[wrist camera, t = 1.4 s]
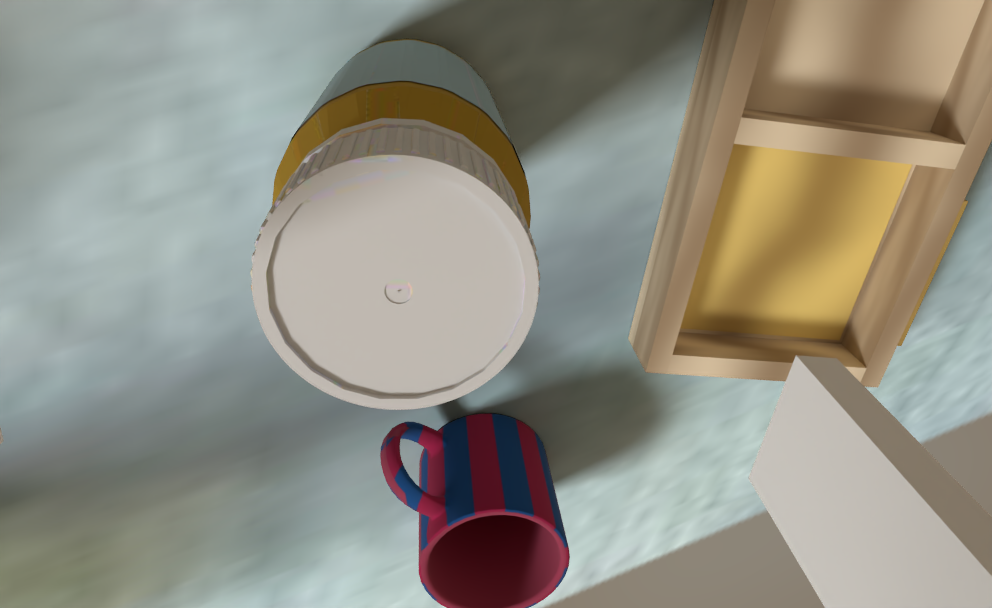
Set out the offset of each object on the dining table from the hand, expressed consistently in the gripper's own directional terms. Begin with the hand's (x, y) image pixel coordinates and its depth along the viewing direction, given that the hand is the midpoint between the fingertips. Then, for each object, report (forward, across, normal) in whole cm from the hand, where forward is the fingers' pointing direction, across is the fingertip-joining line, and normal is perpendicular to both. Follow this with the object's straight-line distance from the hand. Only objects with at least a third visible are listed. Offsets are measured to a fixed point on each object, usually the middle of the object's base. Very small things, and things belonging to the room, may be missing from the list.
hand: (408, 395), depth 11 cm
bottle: (+19, 0, 0) cm, 19 cm away
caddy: (+19, +16, +2) cm, 25 cm away
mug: (+19, +4, -16) cm, 25 cm away
